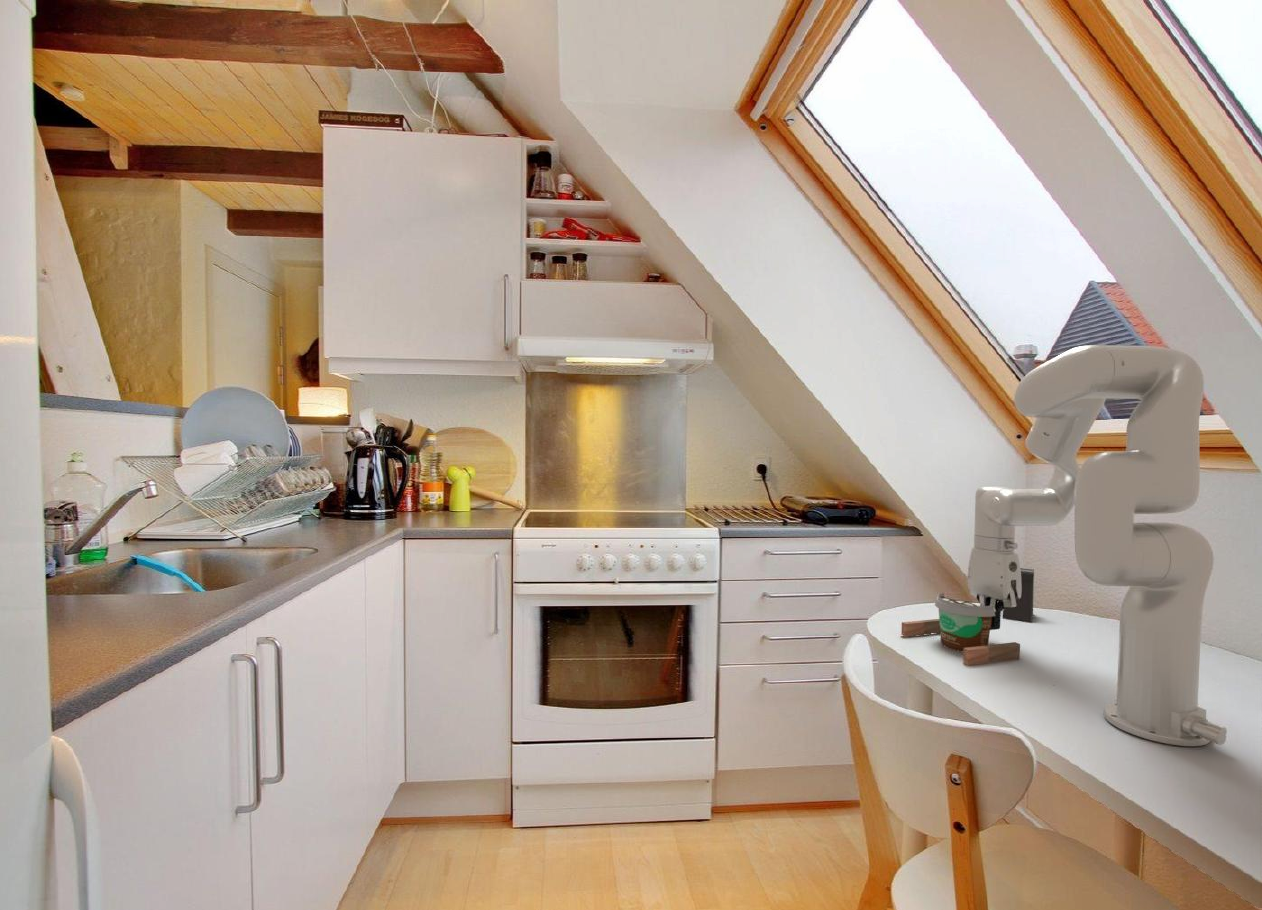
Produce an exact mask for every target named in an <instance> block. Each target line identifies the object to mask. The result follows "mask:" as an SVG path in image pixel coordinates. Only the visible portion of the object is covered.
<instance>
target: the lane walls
mask: <svg viewBox="0 0 1262 910" xmlns="http://www.w3.org/2000/svg"><path fill="white" fill-rule="evenodd" d="M900 632H901V633H900V634H901V635H903V636H904V637H903V636H902V637H903V638H910V637H909V636H914V637H917V636H916V635H923V636H925V635H924V634H931V633H940V622H939V618H934V619H925V620H923V619H922V620H914V621H913V620H911V621H902V622H901V631H900ZM1020 655H1021V644H1020V643H1018V642H1015V641H1013V642H1006V643H1005V642H1004V643H995V644H988V645H985V646H977V647H968V648H963V652H962V658H963V659H962V664H964V665H966V666H973V665H980V664H981V665H982V664H988V663H997V662H1004V661H1012V660H1020Z"/></svg>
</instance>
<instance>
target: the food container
mask: <svg viewBox="0 0 1262 910" xmlns="http://www.w3.org/2000/svg"><path fill="white" fill-rule="evenodd" d="M934 606H935V607H936V608H938V619H939V622H940V634H939V635H940V642H941V643H942V644H943V645H942V644H941V645H942V646H944V645H945V646H946V647H945V646H944V647H945V648H947V647H948V648H947V649H950V648H951V649H950V650H954V651H957V650H959V651H958V652H961V651H963V648H968V647H977V646H985V645H989V641H990V632H991V630H990V627H991V620H992V616H995V611H994V609H993V605H992V606H980V605H976V604H974V603H972V602H969V601H968V600H959V599H954V598H953V599H952V598H949V597H945V593H944V592H941V593H939V594H938V595H937V597H936V599H935V603H934Z"/></svg>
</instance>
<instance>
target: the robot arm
mask: <svg viewBox="0 0 1262 910" xmlns="http://www.w3.org/2000/svg"><path fill="white" fill-rule="evenodd" d="M1204 381H1205V380H1204V374H1203V371H1202V369H1201V366H1200V365H1199V364H1198V363H1197V361H1196V360H1195V359H1194V358H1193V357H1192V356H1190V355H1189V354H1187V353H1185V352H1183V351H1181V350H1178V349H1173V348H1169V347H1162V346H1154V345H1153V346H1152V345H1105V344H1104V345H1101V344H1099V345H1098V344H1097V345H1096V344H1094V345H1082V346H1077V347H1073V348H1071V349H1068V350H1067V351H1065V352H1063V353H1061V354H1059V355H1057V356H1055V357H1053V358H1052V359H1049V360H1048V361H1046V362H1044V363H1042V364H1040V365H1039V366H1037V367H1035V368H1034V369H1032V370H1031V371H1029V372H1028V373H1027V374H1025V376H1023V377H1022V379H1021V380H1020V382H1019V383H1018V384H1017V386H1016V388H1015V392H1014V398H1013V401H1014V405H1015V409H1016V410H1017V412H1018V413H1020V415H1022V416H1024V417H1027V418H1035V420H1034V422H1033V423H1032V426H1031V427H1030V430H1029V433H1028V434H1027V436H1026V438H1025V443H1024V444H1025V447H1026V449H1027V450H1028V451H1027V452H1029V453H1030V454H1031V455H1033V456H1034V457H1036V458H1037V459H1038V460H1041V461H1043V462H1045V463H1047V464H1049V465H1052V466H1054V467H1053V468H1054V469H1053V473H1052V475H1051V477H1050V479H1049V482H1048V483H1047V485H1046V487H1045V488H1010V487H1007V486H999V485H997V486H996V485H994V486H993V485H987V486H980V487H978V488H977V489H976V491H975V497H974V499H975V501H974V502H975V503H974V534H973V535H974V536H973V547H972V548H971V552H970V555H969V560H968V561H969V562H968V568H967V569H968V570H967V588H968V589H969V594H970V596H972V597H973V598H975V599H976V600H977V601H978V603H979V606H992V605H993V609H994V611H995V616H992V620H991V627H990V631H995V630H1000V628H1001V613H1002V612H1003V611H1004V609H1005V608H1006V607H1016V600H1015V599H1019V598H1021V591H1022V585H1021V569H1020V568H1021V562H1020V557H1019V555H1018V552H1015V550H1017V549H1018V547H1019V546H1018V543H1017V542H1015V539H1016V538H1015V536H1016V533H1015V532H1016V527H1051V526H1055V525H1058V524H1060V523H1062V522H1063V521H1064V520H1065V519H1066V518H1067V517H1068V515H1069V514H1070V513H1071V511H1072V510H1073V508H1074V552H1075V558H1076V559H1075V560H1076V562H1077V565H1078V568H1079V569H1080V571H1081V572H1082V574H1083V575H1084V576H1085V577H1086V578H1087V579H1089V580H1090V581H1091V582H1093V583H1095V584H1097V585H1100V586H1107V587H1128V590H1127V591H1126V593H1125V595H1124V597H1123V599H1122V602H1121V606H1120V613H1119V631H1118V633H1119V634H1118V635H1119V636H1118V657H1117V659H1118V661H1117V682H1116V683H1117V684H1116V685H1117V686H1116V687H1117V688H1116V702H1113V703H1109V704H1107V705H1105V706H1104V708H1103V717H1104V718H1105V719H1106V721H1108V722H1109V723H1110V724H1111V725H1113V726H1114V727H1116V728H1118V729H1120V730H1121V731H1124V732H1126V733H1128V734H1131V735H1133V736H1136V737H1139V738H1142V739H1146V740H1149V741H1152V742H1156V743H1161V744H1165V745H1172V746H1180V747H1201V746H1205V745H1207V744H1209V743H1210V742H1212V743H1214V744H1217V745H1219V746H1222V745H1224V744H1225V742H1226V741H1227V732H1228V730H1227V728H1226V727H1225V726H1222V725H1219V724H1217V723H1214V722H1210V721H1209V720H1208V719H1207V709H1205V708H1202V707H1199V706H1198V704H1199V703H1198V702H1199V683H1200V680H1199V679H1200V661H1201V658H1200V657H1201V656H1200V654H1201V636H1202V623H1203V609H1204V601H1205V597H1206V591H1207V590H1208V589H1207V588H1208V585H1209V582H1210V579H1211V576H1212V572H1213V569H1214V562H1215V561H1214V560H1215V559H1214V557H1215V556H1214V552H1213V548H1212V546H1211V544H1210V542H1209V541H1208V539H1206V537H1205V536H1204V535H1203V534H1201V533H1200V532H1199V531H1197V530H1195V529H1194V528H1192V527H1189V526H1186V525H1183V524H1179V523H1175V522H1173V523H1172V522H1134V520H1135V515H1159V514H1163V515H1164V514H1166V515H1167V514H1176V513H1178V514H1179V513H1181V512H1186V511H1187V510H1189V509H1191V508H1192V507H1193V506H1194V505H1195V504H1196V502H1197V501H1198V498H1199V492H1200V481H1201V480H1200V479H1201V478H1200V474H1201V473H1200V471H1201V469H1200V416H1201V415H1200V414H1201V409H1202V404H1203V399H1204V393H1205V392H1204V389H1205V388H1204V387H1205V382H1204ZM1107 399H1108V400H1109V399H1110V400H1111V399H1114V400H1115V399H1117V400H1118V399H1119V400H1120V399H1123V400H1124V399H1130V400H1132V399H1134V400H1135V399H1136V400H1140V402H1139V403H1138V404H1137V405H1136V406H1135V408H1133V410H1132V412H1131V414H1130V416H1129V418H1128V420H1127V421H1128V422H1127V423H1126V445H1125V446H1126V448H1125V451H1124V450H1123V451H1119V450H1118V451H1105V452H1100V453H1097V454H1094V455H1092V456H1090V457H1089V458H1087V460H1085V461H1084V462H1083V463H1082V465H1081V466H1080V465H1079V463H1078V461H1077V459H1076V458H1077V455H1078V452H1079V450H1080V449H1081V447H1082V446H1083V445H1082V444H1083V443H1084V442H1085V440H1086V437H1087V435H1088V434H1089V432H1090V430H1091V428H1092V427H1093V425H1094V423H1095V421H1096V419H1097V417H1098V416H1099V413H1100V412H1101V410H1102V408H1103V407H1104V406H1105V405H1104V404H1105V402H1106V400H1107ZM1005 600H1006V601H1005Z"/></svg>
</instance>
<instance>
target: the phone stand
mask: <svg viewBox="0 0 1262 910" xmlns="http://www.w3.org/2000/svg"><path fill="white" fill-rule="evenodd" d="M1020 569H1021V585H1022V591H1021V598H1019V599H1015V600H1016V607H1006V608H1005V609H1004V611H1002V619H1004V618H1006V620H1011V619H1012V620H1013V621H1017V620H1018V622H1024V621H1025V623H1030V622H1031V621H1033V617H1032V616H1034V591H1035V590H1034V585H1035V584H1034V583H1035V582H1034V579H1035V570H1034V569H1029V568H1023V567H1020ZM1005 601H1006V600H1005ZM1031 623H1032V622H1031Z"/></svg>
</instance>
